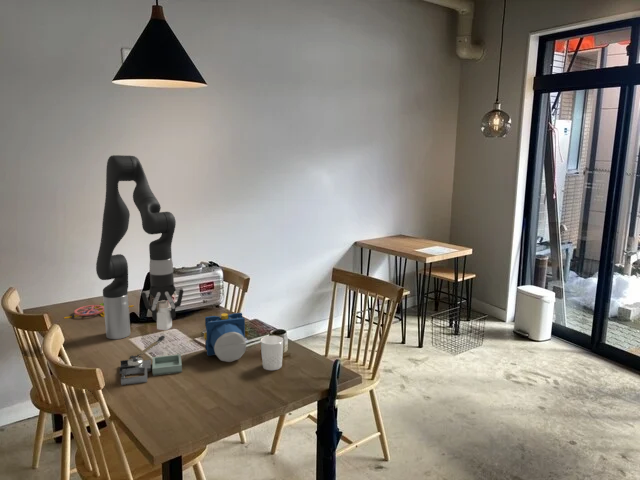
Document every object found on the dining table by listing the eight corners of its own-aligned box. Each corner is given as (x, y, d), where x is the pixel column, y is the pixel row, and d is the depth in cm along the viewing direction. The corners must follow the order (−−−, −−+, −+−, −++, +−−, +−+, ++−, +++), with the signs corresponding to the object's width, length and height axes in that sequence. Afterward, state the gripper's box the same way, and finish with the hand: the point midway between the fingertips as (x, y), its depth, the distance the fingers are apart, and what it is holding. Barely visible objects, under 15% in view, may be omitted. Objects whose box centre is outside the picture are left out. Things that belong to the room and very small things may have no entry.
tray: (153, 364, 182) (152, 357, 182) (180, 360, 185) (180, 354, 184) (152, 375, 173) (152, 368, 173) (182, 372, 176) (181, 365, 175)
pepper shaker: (172, 326, 178) (171, 300, 176) (167, 331, 174) (165, 304, 172) (162, 325, 179) (160, 299, 177) (156, 330, 175) (154, 303, 173)
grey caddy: (121, 366, 180) (120, 355, 179) (151, 362, 183) (150, 352, 182) (118, 385, 166) (117, 374, 165) (150, 381, 169) (149, 370, 168)
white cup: (286, 363, 183) (286, 337, 181) (278, 372, 176) (277, 345, 174) (266, 360, 186) (266, 334, 184) (257, 369, 179) (256, 342, 177)
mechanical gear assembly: (61, 314, 233) (68, 325, 221) (60, 306, 232) (67, 316, 220) (128, 302, 250) (138, 312, 239) (128, 294, 249) (137, 303, 238)
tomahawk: (145, 363, 185) (145, 360, 185) (129, 359, 187) (129, 356, 187) (175, 340, 205) (175, 337, 205) (161, 337, 207) (161, 334, 206)
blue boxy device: (203, 349, 194) (203, 314, 189) (242, 344, 199) (243, 309, 194) (210, 368, 182) (209, 331, 177) (251, 362, 188) (251, 325, 183)
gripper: (183, 267, 178) (185, 313, 181) (139, 269, 174) (142, 317, 177) (184, 272, 171) (186, 320, 174) (138, 275, 167) (141, 325, 170)
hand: (164, 318), depth 176 cm, fingers closed on pepper shaker, 5 cm apart
